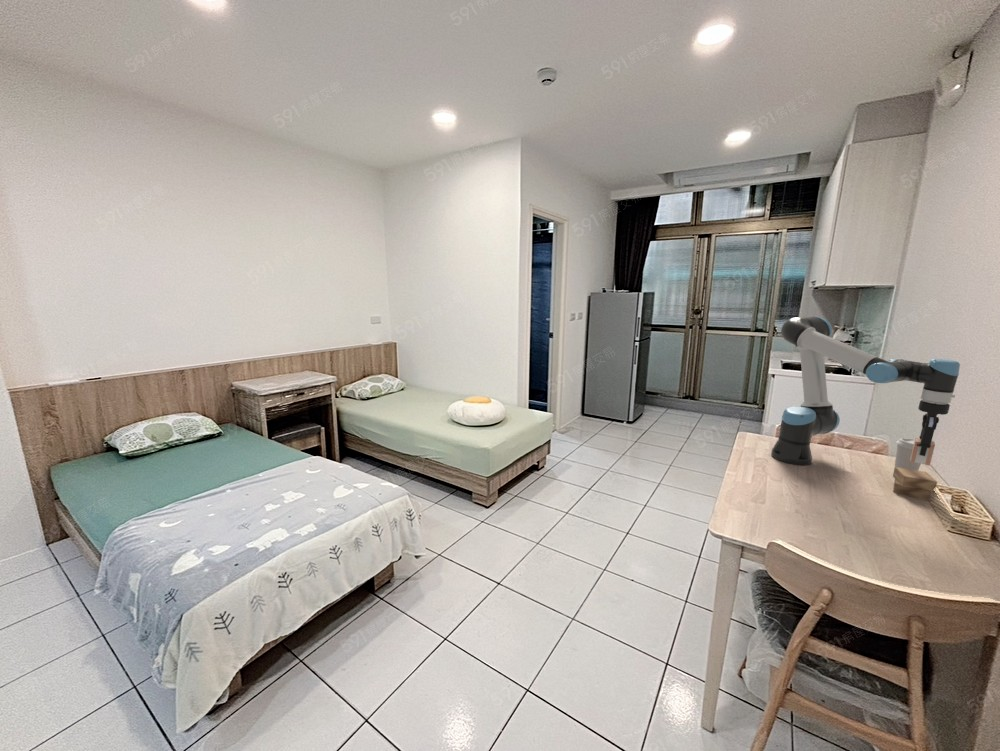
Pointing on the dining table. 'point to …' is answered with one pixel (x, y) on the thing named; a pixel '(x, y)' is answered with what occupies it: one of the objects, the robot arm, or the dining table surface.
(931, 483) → the slab top
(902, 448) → the coffee cup
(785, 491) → the dining table surface
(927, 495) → the slab bottom
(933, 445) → the terracotta block
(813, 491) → the dining table surface
